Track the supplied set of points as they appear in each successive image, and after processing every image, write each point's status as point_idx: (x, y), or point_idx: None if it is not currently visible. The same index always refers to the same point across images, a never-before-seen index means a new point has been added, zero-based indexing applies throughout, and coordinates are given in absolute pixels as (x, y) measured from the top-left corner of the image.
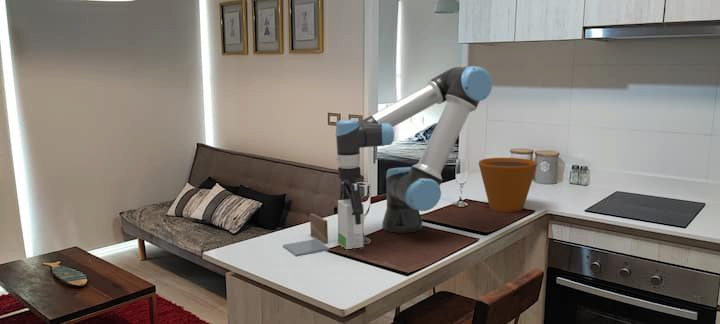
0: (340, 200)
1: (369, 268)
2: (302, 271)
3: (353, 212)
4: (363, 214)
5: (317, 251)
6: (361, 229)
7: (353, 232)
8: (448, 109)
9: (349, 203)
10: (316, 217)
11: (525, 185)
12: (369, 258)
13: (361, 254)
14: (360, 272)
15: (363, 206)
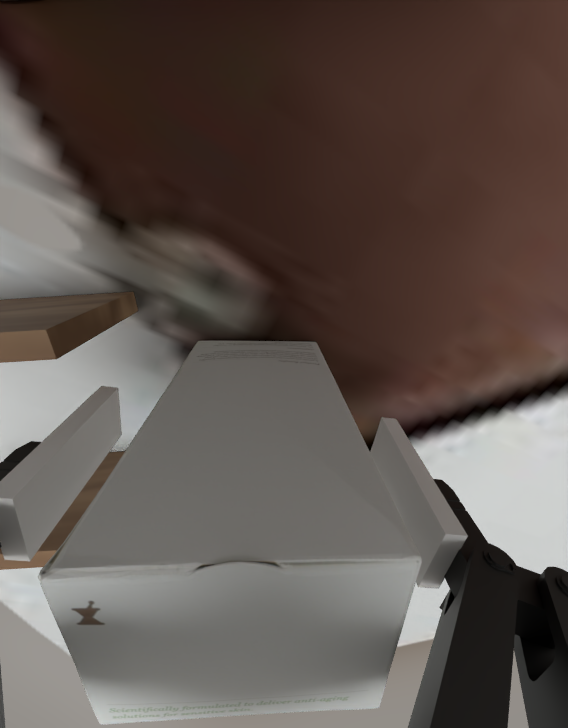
0: (116, 713)
1: (551, 425)
2: (415, 585)
3: (444, 608)
4: (370, 454)
5: None
6: (404, 436)
7: None
8: None
9: (315, 682)
10: (14, 567)
11: None
12: (461, 379)
13: (394, 386)
14: (556, 464)
15: (406, 529)
